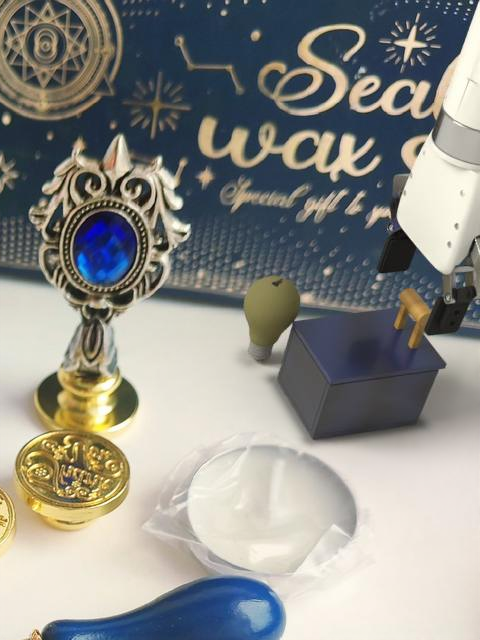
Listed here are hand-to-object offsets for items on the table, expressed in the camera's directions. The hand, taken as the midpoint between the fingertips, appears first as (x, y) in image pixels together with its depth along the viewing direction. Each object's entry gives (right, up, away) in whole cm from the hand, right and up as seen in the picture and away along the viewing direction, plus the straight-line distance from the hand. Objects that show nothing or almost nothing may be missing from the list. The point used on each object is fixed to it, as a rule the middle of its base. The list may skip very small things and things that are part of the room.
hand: (415, 300), depth 102 cm
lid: (-3, -4, +3) cm, 6 cm away
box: (-4, -9, +8) cm, 13 cm away
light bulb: (-11, -4, +13) cm, 18 cm away
